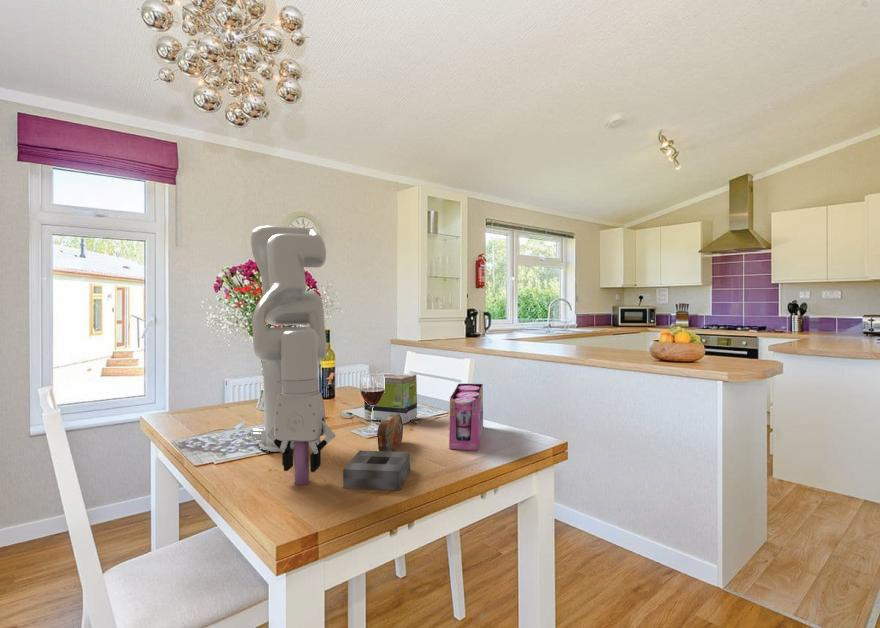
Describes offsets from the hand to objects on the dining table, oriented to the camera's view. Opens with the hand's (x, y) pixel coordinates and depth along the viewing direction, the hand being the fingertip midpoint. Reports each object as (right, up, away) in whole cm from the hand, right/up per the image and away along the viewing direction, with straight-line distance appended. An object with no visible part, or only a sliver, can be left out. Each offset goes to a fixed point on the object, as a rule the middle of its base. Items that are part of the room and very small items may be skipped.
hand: (301, 468), depth 99 cm
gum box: (+38, -2, +32) cm, 49 cm away
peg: (0, -3, 0) cm, 3 cm away
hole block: (+16, -3, +2) cm, 17 cm away
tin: (+17, -2, +22) cm, 28 cm away
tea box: (+14, -2, +53) cm, 55 cm away
